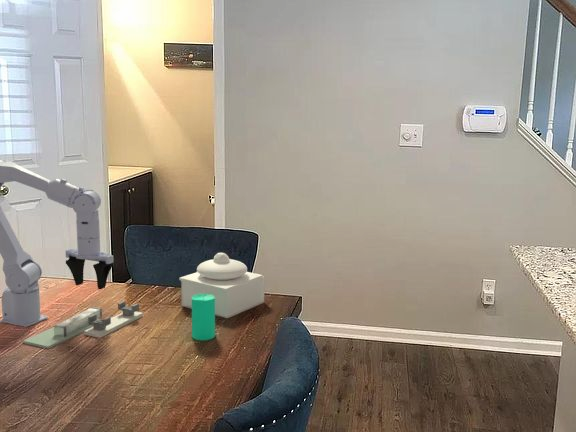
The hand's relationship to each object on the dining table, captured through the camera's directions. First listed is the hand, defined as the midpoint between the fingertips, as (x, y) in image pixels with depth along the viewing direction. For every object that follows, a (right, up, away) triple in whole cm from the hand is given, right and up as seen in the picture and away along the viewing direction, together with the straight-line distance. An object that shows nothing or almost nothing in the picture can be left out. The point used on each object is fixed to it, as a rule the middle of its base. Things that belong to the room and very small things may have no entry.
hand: (90, 286), depth 169 cm
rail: (-2, -10, -3) cm, 11 cm away
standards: (+7, -10, 0) cm, 12 cm away
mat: (-6, -12, -8) cm, 15 cm away
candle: (+31, -12, -6) cm, 34 cm away
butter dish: (+33, -8, +19) cm, 39 cm away
